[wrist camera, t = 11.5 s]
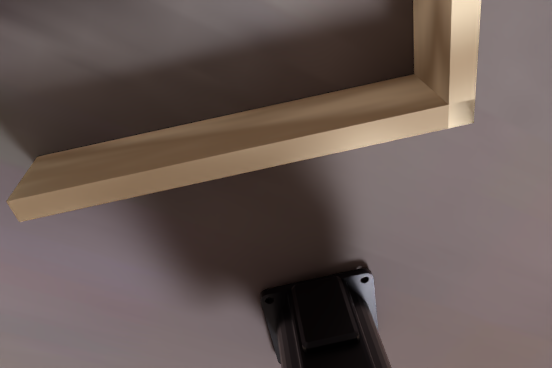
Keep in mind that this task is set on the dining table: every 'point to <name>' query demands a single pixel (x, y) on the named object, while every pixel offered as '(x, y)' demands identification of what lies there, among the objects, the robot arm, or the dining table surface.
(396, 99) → the u-shaped wooden frame
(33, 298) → the dining table surface
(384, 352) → the robot arm
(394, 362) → the dining table surface
